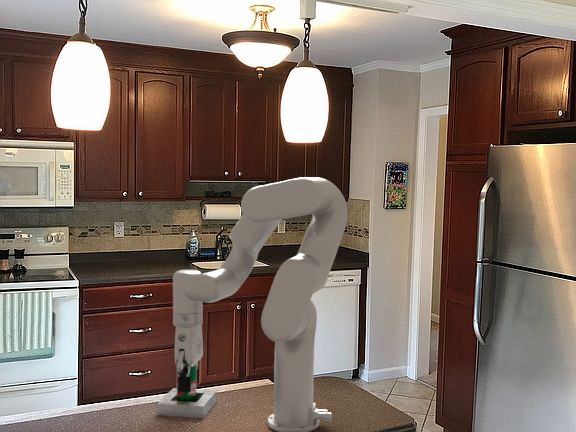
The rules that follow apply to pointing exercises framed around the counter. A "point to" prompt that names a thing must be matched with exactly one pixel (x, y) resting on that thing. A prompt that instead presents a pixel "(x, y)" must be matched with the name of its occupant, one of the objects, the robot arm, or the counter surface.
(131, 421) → the counter surface
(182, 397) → the soda can
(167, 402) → the plate
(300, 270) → the robot arm
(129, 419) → the counter surface
